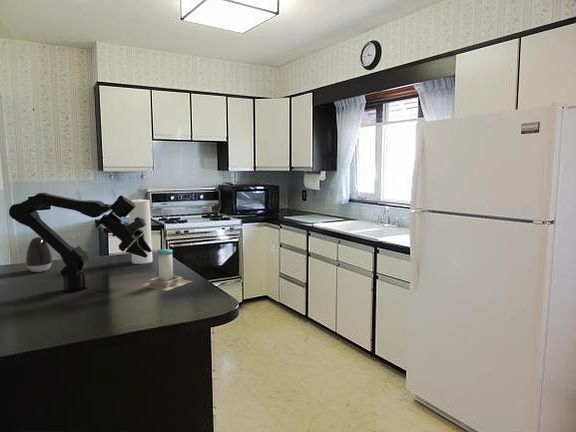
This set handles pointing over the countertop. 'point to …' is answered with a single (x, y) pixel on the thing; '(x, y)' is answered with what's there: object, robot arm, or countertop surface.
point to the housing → (166, 283)
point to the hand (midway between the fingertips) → (149, 254)
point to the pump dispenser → (38, 255)
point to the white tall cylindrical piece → (165, 264)
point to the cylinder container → (142, 212)
